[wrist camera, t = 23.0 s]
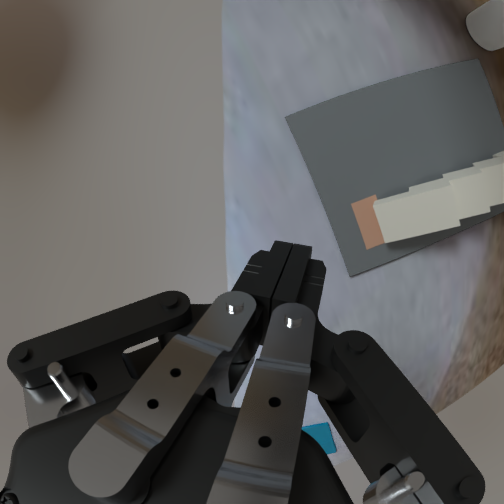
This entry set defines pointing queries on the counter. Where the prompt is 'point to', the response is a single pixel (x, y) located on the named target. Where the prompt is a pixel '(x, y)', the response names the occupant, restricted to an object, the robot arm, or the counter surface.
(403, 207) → the domino
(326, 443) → the sponge
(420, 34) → the counter surface
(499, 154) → the domino
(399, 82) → the slate mat
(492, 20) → the can
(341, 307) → the counter surface
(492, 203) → the domino
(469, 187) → the domino
